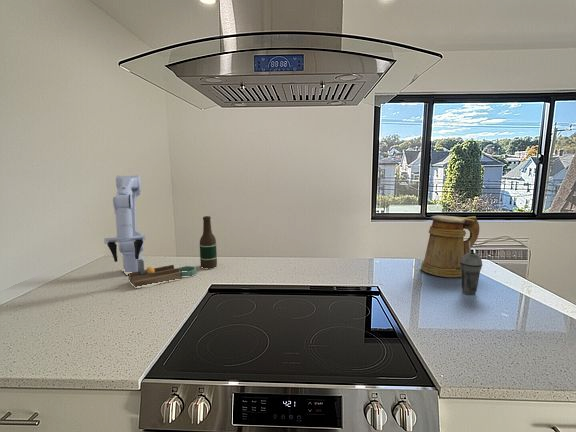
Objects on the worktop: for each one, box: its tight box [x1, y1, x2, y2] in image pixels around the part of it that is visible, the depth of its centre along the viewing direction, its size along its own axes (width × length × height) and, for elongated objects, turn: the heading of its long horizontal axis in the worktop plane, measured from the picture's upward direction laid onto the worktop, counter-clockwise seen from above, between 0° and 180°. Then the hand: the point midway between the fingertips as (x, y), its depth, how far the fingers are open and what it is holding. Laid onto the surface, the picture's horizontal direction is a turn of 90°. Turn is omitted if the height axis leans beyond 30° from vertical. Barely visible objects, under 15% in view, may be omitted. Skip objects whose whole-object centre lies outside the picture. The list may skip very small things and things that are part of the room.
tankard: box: [420, 215, 480, 278], centre depth 154 cm, size 18×24×25 cm
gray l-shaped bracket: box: [137, 258, 146, 276], centre depth 142 cm, size 4×2×7 cm, turn 38°
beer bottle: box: [199, 215, 218, 269], centre depth 162 cm, size 8×8×24 cm
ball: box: [145, 266, 155, 274], centre depth 144 cm, size 4×4×4 cm
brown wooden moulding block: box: [128, 264, 182, 287], centre depth 145 cm, size 10×18×4 cm, turn 128°
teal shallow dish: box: [178, 265, 197, 277], centre depth 154 cm, size 8×8×2 cm
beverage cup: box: [460, 241, 483, 296], centre depth 129 cm, size 7×7×20 cm
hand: (126, 260), depth 137 cm, fingers open, 7 cm apart
